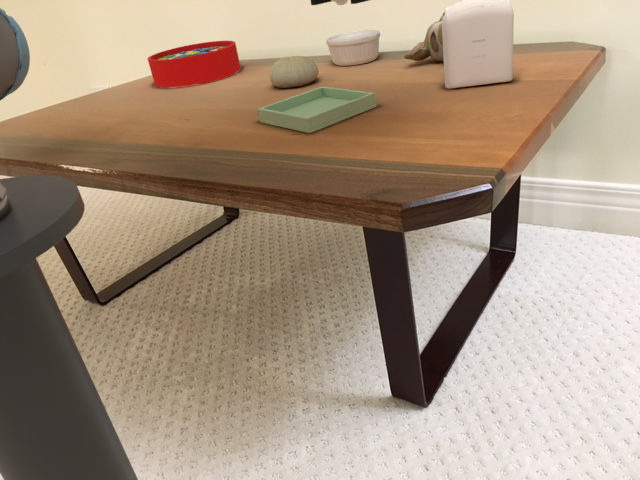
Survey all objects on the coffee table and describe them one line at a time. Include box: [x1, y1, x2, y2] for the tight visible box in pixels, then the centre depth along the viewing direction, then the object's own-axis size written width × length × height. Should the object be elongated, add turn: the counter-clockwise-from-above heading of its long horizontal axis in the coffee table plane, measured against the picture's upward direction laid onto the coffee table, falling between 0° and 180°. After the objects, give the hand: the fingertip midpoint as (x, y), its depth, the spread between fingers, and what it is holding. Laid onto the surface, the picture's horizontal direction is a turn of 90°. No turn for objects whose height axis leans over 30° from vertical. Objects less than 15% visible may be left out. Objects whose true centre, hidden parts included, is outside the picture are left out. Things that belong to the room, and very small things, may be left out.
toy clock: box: [147, 40, 242, 89], centre depth 124 cm, size 20×6×20 cm
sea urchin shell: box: [269, 55, 320, 89], centre depth 102 cm, size 9×8×8 cm
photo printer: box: [442, 0, 515, 90], centre depth 81 cm, size 10×4×12 cm, turn 82°
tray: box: [257, 86, 378, 134], centre depth 81 cm, size 13×12×2 cm
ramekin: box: [325, 29, 381, 67], centre depth 113 cm, size 11×11×5 cm
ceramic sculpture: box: [403, 12, 444, 62], centre depth 100 cm, size 11×9×15 cm
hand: (342, 1), depth 57 cm, fingers closed on lightbulb, 6 cm apart
